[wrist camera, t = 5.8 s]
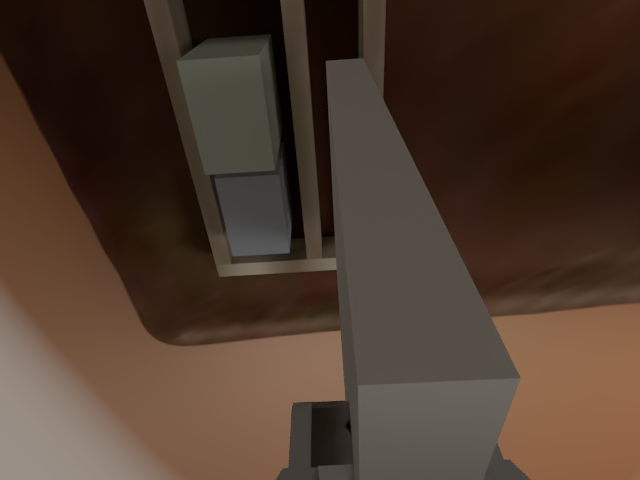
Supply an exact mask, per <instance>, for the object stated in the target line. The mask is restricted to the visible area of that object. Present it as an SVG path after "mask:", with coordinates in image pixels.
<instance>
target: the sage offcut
mask: <svg viewBox="0 0 640 480" xmlns="http://www.w3.org/2000/svg"><path fill="white" fill-rule="evenodd" d="M176 62H177V66H178V70H179V74H180V78H181V82H182V86H183V90H184V94H185V98H186V102H187V105H188V109H189V113H190V117H191V121H192V125H193V129H194V133H195V137H196V141H197V145H198V149H199V153H200V157H201V161H202V165H203V169H204V173H205V175H212V174H228V173H243V172H258V171H273V170H275V169H276V163H277V158H278V152H279V146H280V140H281V135H282V129H283V127H282V119H281V111H280V102H279V94H278V85H277V77H276V69H275V60H274V52H273V44H272V35H271V34H263V35H250V36H236V37H223V38H209V39H206V40H205V41H204V42H202V43H201V44H199V45H198V46H197V47H195V48H194V49H192V50H191V51H190V52H188V53H187V54H185V55H184V56H183V57H181V58H180V59H178V60H177V61H176Z"/></svg>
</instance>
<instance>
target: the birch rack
mask: <svg viewBox="0 0 640 480" xmlns="http://www.w3.org/2000/svg"><path fill="white" fill-rule="evenodd" d="M280 1H281V10H282V20H283V30H284V39H285V49H286V59H287V69H288V78H289V88H290V98H291V107H292V117H293V127H294V136H295V146H296V156H297V166H298V175H299V185H300V195H301V204H302V214H303V224H304V233H305V238H297V239H291V241H290V253H283V254H266V255H249V256H232V252H231V247H230V243H229V239H228V235H227V231H226V226H225V222H224V218H223V214H222V209H221V205H220V201H219V197H218V192H217V188H216V184H215V180H214V178H215V176H216V174H212V175H205V173H204V169H203V165H202V161H201V157H200V153H199V149H198V145H197V141H196V137H195V133H194V129H193V125H192V121H191V117H190V113H189V109H188V105H187V102H186V98H185V94H184V90H183V86H182V82H181V78H180V74H179V70H178V66H177V62H176V61H177V60H178V59H180V58H181V57H183V56H184V55H185V54H187V53H188V52H190V51H191V50H192V49H194V48H193V44H192V40H191V35H190V31H189V26H188V22H187V17H186V13H185V8H184V4H183V0H144V3H145V7H146V11H147V14H148V18H149V22H150V25H151V29H152V33H153V36H154V40H155V44H156V47H157V51H158V55H159V58H160V62H161V66H162V69H163V73H164V77H165V80H166V84H167V88H168V91H169V95H170V99H171V102H172V106H173V110H174V113H175V117H176V121H177V124H178V128H179V132H180V135H181V139H182V143H183V146H184V150H185V154H186V157H187V161H188V165H189V168H190V172H191V175H192V179H193V183H194V186H195V190H196V194H197V197H198V201H199V205H200V208H201V212H202V216H203V219H204V223H205V227H206V230H207V234H208V238H209V241H210V245H211V249H212V252H213V256H214V260H215V263H216V267H217V271H218V274H219V277H223V276H240V275H257V274H273V273H290V272H307V271H323V270H337V266H336V250H335V236H329V237H322V235H321V221H320V207H319V194H318V180H317V167H316V153H315V139H314V126H313V112H312V98H311V85H310V71H309V58H308V44H307V30H306V17H305V3H304V0H280ZM385 15H386V0H358V59H360V58H363V60H364V62H365V64H366V66H367V68H368V70H369V72H370V74H371V76H372V78H373V80H374V82H375V84H376V86H377V88H378V90H379V92H380V94H381V96H382V98H383V86H384V51H385Z"/></svg>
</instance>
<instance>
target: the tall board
mask: <svg viewBox="0 0 640 480" xmlns="http://www.w3.org/2000/svg"><path fill="white" fill-rule="evenodd" d="M326 75H327V95H328V114H329V133H330V153H331V172H332V192H333V211H334V230H335V250H336V266H337V281H338V296H339V311H340V326H341V340H342V355H343V370H344V383H345V398H346V399H345V400H346V401H349V407H350V423H351V435H352V447H353V460H354V480H483V479H484V476H485V473H486V470H487V468H488V465H489V462H490V460H491V457H492V454H493V451H494V449H495V446H496V443H497V441H498V438H499V435H500V433H501V430H502V427H503V424H504V421H505V419H506V416H507V413H508V411H509V408H510V405H511V403H512V400H513V397H514V395H515V392H516V389H517V386H518V384H519V381H520V376H519V374H518V372H517V370H516V368H515V366H514V364H513V362H512V360H511V358H510V355H509V354H508V352H507V349H506V347H505V346H504V343H503V341H502V339H501V338H500V335H499V333H498V331H497V329H496V327H495V325H494V323H493V321H492V319H491V317H490V315H489V313H488V311H487V309H486V307H485V305H484V303H483V301H482V299H481V297H480V295H479V293H478V291H477V289H476V287H475V285H474V283H473V280H472V278H471V276H470V274H469V272H468V270H467V268H466V266H465V264H464V262H463V260H462V258H461V256H460V254H459V252H458V250H457V248H456V246H455V244H454V242H453V240H452V238H451V236H450V234H449V232H448V230H447V228H446V226H445V224H444V222H443V220H442V218H441V216H440V214H439V212H438V210H437V208H436V206H435V203H434V201H433V199H432V197H431V195H430V193H429V191H428V189H427V187H426V185H425V183H424V181H423V179H422V177H421V175H420V173H419V171H418V169H417V167H416V165H415V163H414V161H413V159H412V157H411V155H410V153H409V151H408V149H407V147H406V145H405V143H404V141H403V139H402V137H401V135H400V133H399V131H398V128H397V126H396V124H395V122H394V120H393V118H392V116H391V114H390V112H389V110H388V108H387V106H386V104H385V102H384V100H383V98H382V96H381V94H380V92H379V90H378V88H377V86H376V84H375V82H374V80H373V78H372V76H371V74H370V72H369V70H368V68H367V66H366V64H365V62H364V60H363V58H360V59H346V60H332V61H326Z"/></svg>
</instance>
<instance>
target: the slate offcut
mask: <svg viewBox="0 0 640 480" xmlns="http://www.w3.org/2000/svg"><path fill="white" fill-rule="evenodd" d="M214 180H215V184H216V188H217V192H218V197H219V201H220V205H221V209H222V214H223V218H224V222H225V226H226V231H227V235H228V239H229V243H230V247H231V252H232V256H249V255H266V254H283V253H290V241H291V228H292V215H293V211H292V203H291V194H290V186H289V178H288V169H287V161H286V152H285V144H284V142H280V146H279V152H278V158H277V163H276V169H275V170H273V171H258V172H243V173H228V174H216V176H215V178H214Z"/></svg>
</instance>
